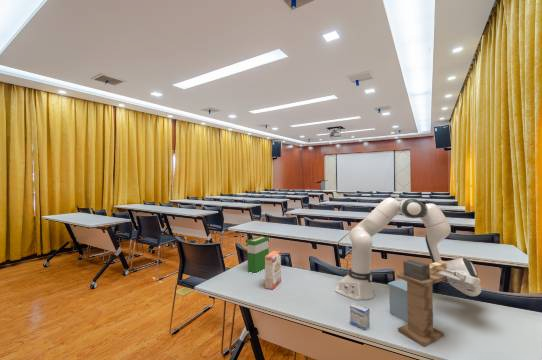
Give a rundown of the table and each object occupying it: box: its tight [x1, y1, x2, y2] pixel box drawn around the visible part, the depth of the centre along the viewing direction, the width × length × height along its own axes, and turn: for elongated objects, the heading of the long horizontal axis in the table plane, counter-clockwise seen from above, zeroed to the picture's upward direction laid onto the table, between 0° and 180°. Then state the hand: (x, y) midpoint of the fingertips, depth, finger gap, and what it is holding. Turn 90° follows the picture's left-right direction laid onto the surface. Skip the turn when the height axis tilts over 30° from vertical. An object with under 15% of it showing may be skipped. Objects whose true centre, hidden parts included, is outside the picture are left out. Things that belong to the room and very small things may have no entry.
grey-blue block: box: [387, 278, 408, 324], centre depth 129 cm, size 17×11×16 cm, turn 117°
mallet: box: [402, 258, 447, 281], centre depth 115 cm, size 23×8×6 cm, turn 117°
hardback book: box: [246, 235, 270, 274], centre depth 197 cm, size 18×7×24 cm, turn 147°
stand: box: [396, 271, 447, 348], centre depth 113 cm, size 17×12×26 cm
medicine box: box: [349, 302, 371, 331], centre depth 120 cm, size 8×4×9 cm, turn 44°
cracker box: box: [264, 250, 282, 290], centre depth 168 cm, size 14×6×21 cm, turn 156°
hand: (444, 270), depth 121 cm, fingers open, 8 cm apart
